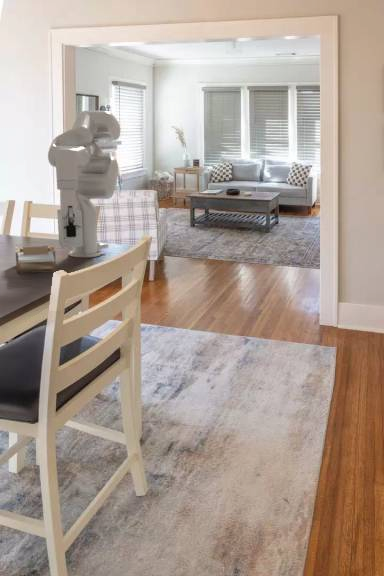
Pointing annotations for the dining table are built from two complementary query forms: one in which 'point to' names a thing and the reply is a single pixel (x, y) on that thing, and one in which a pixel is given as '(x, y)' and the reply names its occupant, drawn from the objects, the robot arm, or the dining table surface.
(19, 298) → the dining table surface
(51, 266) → the box
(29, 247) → the lid
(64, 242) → the supplement box
